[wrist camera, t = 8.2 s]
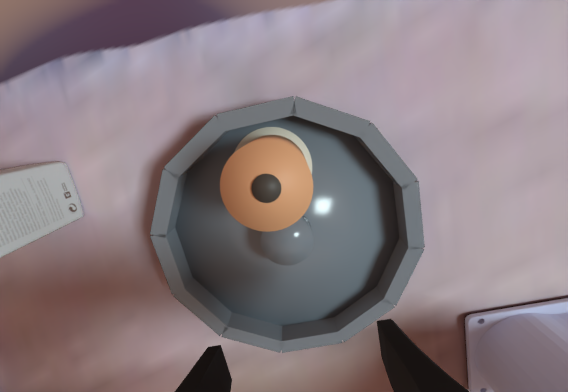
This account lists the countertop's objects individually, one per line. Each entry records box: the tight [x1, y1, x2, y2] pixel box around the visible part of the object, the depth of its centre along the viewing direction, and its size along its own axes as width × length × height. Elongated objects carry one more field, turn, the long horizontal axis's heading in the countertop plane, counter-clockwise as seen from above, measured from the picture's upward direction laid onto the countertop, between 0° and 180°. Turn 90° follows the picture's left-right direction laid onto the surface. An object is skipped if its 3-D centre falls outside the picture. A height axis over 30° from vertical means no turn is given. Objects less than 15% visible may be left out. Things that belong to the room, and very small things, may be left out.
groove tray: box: [150, 96, 425, 353], centre depth 19 cm, size 17×17×2 cm
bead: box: [220, 135, 313, 232], centre depth 15 cm, size 4×4×5 cm
